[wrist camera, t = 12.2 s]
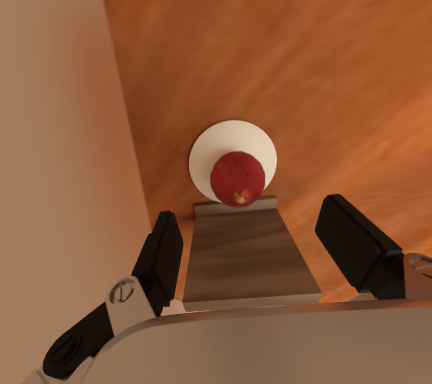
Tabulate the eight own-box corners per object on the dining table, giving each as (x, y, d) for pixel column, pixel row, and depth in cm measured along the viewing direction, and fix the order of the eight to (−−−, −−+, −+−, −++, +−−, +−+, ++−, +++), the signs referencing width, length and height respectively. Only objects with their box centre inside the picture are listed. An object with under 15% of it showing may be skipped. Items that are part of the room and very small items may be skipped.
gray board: (194, 203, 25) (178, 292, 14) (275, 195, 24) (326, 281, 13) (199, 228, 28) (189, 320, 16) (273, 221, 27) (314, 312, 16)
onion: (266, 165, 21) (291, 200, 14) (233, 194, 23) (242, 237, 16) (234, 132, 19) (244, 155, 12) (201, 167, 21) (195, 203, 14)
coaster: (181, 125, 20) (180, 127, 19) (277, 113, 19) (279, 114, 18) (197, 203, 25) (197, 207, 24) (271, 195, 24) (273, 199, 24)
